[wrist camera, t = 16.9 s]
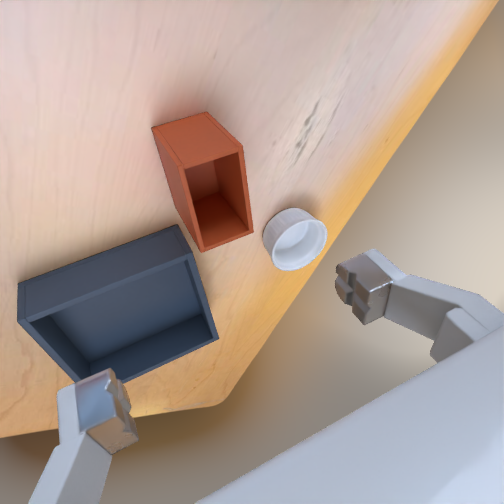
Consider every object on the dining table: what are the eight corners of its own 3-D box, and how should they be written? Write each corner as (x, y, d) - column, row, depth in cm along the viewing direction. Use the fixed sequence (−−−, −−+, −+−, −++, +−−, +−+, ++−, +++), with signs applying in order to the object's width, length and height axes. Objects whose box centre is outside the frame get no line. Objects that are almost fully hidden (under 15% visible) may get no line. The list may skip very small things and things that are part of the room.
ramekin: (284, 260, 58) (298, 278, 55) (246, 242, 52) (260, 261, 49) (321, 217, 55) (338, 233, 52) (286, 193, 49) (302, 209, 46)
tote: (207, 111, 38) (242, 145, 31) (222, 191, 44) (254, 232, 38) (151, 127, 36) (177, 166, 30) (175, 208, 43) (201, 253, 37)
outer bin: (177, 223, 44) (192, 252, 40) (205, 310, 57) (219, 339, 53) (17, 283, 40) (16, 321, 36) (85, 364, 52) (90, 399, 48)
